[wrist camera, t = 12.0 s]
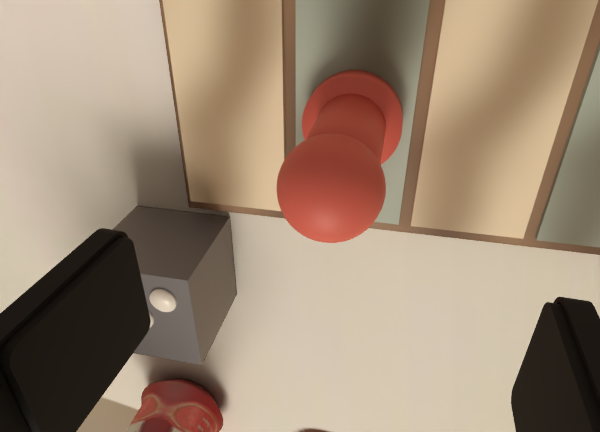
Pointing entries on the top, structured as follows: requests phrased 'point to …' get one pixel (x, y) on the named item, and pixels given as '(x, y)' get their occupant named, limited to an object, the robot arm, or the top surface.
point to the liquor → (177, 409)
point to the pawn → (341, 157)
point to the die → (182, 279)
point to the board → (403, 107)
